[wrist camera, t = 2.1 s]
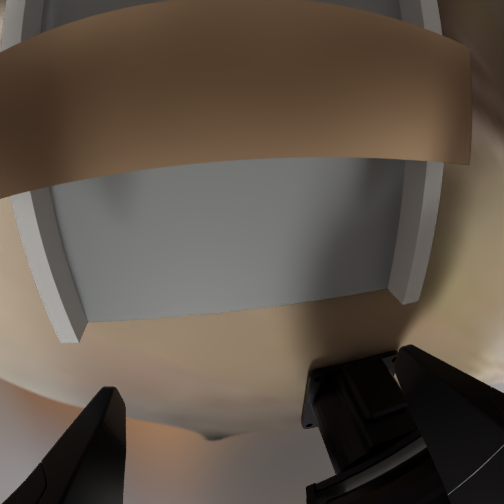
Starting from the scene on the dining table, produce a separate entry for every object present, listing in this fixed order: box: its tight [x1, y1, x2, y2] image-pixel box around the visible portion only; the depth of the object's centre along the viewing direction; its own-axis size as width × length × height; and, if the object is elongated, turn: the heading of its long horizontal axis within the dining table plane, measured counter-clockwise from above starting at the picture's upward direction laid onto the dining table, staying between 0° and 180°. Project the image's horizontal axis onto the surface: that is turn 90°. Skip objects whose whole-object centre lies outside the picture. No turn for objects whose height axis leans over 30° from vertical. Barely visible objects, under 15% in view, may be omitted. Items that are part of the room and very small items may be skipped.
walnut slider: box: [0, 0, 472, 199], centre depth 7 cm, size 4×14×4 cm, turn 92°
